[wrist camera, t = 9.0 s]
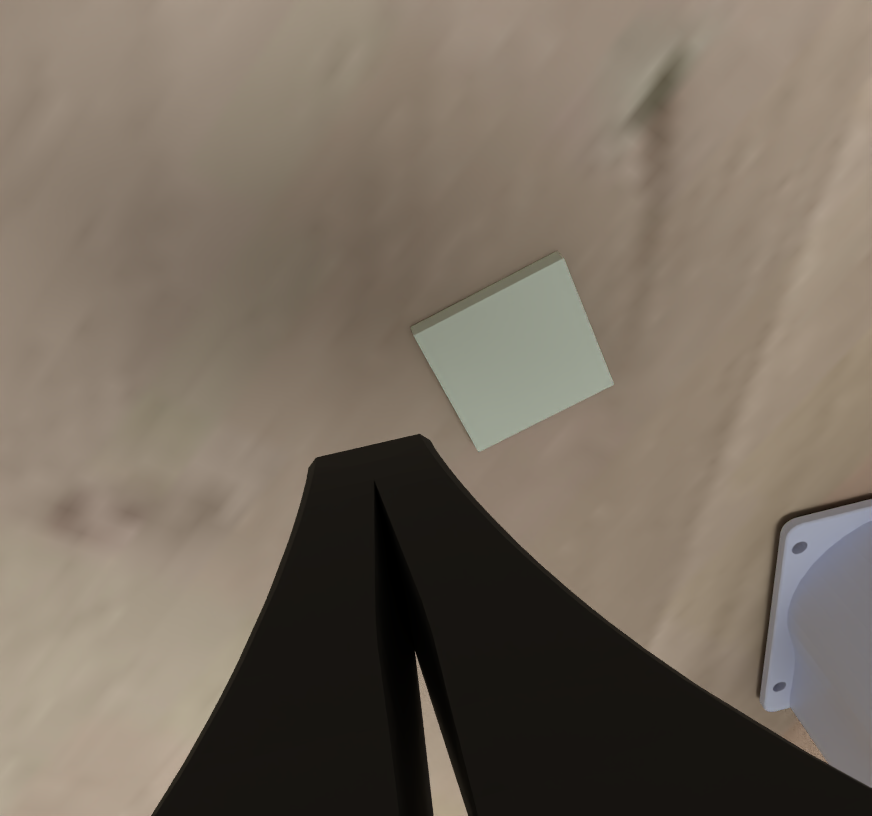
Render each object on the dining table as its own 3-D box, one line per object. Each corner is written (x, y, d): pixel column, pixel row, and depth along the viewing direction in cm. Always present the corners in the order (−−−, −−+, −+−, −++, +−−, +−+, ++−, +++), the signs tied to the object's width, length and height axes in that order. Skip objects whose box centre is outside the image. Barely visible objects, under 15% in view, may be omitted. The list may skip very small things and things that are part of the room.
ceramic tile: (600, 366, 21) (614, 384, 21) (470, 432, 22) (478, 452, 21) (550, 243, 19) (563, 257, 18) (406, 318, 20) (413, 335, 19)
